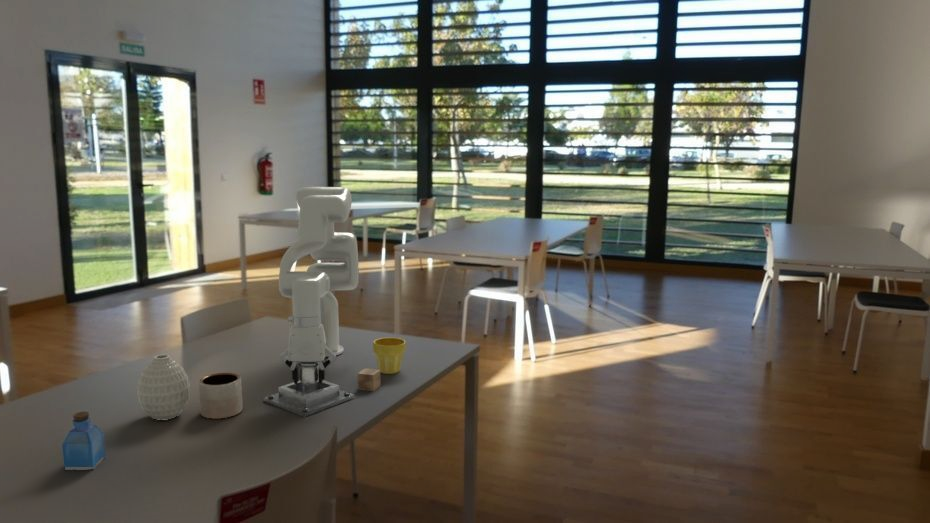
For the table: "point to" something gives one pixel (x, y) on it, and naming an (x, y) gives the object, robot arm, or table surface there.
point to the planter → (220, 395)
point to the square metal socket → (308, 398)
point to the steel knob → (308, 377)
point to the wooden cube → (369, 379)
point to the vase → (163, 388)
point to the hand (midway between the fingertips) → (308, 381)
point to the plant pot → (389, 354)
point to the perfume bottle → (83, 443)
